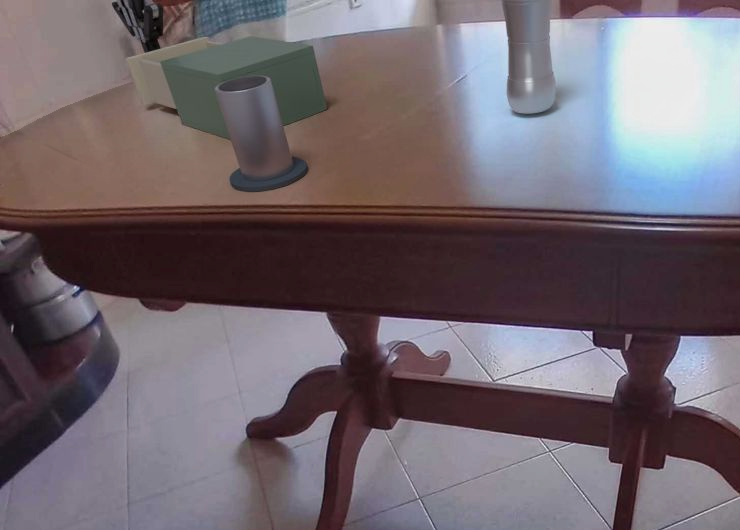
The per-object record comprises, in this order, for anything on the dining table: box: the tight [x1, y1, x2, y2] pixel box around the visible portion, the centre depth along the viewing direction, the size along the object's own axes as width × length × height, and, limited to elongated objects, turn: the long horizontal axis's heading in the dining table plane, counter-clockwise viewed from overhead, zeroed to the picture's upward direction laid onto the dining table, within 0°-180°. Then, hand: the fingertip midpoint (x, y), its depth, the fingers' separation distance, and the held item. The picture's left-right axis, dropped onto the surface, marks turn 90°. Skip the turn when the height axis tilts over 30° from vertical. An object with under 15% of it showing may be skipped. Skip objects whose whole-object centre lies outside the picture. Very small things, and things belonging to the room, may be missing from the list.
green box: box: [160, 35, 328, 141], centre depth 99 cm, size 16×15×9 cm
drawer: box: [124, 36, 225, 110], centre depth 109 cm, size 19×14×7 cm
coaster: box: [228, 156, 309, 193], centre depth 82 cm, size 9×9×1 cm
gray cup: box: [215, 76, 294, 181], centre depth 79 cm, size 6×6×10 cm
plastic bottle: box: [500, 0, 557, 115], centre depth 86 cm, size 6×7×20 cm
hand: (157, 64), depth 115 cm, fingers closed
